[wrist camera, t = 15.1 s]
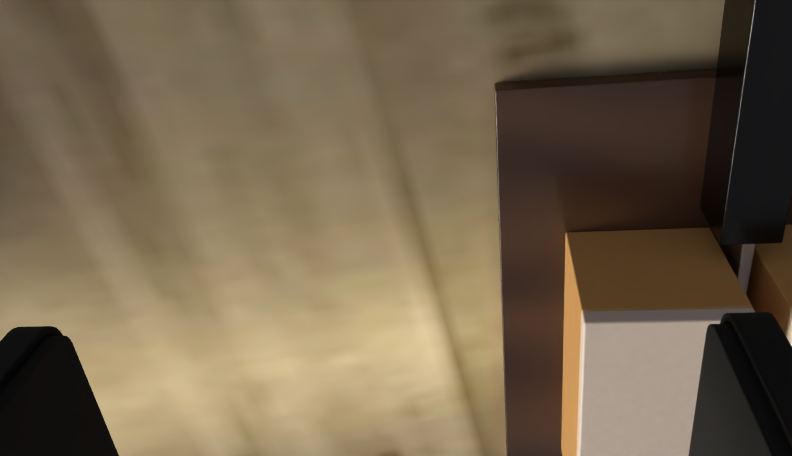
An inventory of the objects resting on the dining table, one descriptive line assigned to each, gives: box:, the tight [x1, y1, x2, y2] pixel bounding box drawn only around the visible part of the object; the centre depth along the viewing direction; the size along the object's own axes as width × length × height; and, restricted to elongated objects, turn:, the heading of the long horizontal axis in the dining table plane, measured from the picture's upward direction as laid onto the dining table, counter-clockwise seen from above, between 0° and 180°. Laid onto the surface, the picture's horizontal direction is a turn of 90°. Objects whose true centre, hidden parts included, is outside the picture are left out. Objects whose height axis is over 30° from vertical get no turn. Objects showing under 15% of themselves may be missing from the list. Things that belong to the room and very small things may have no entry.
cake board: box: [495, 69, 792, 456], centre depth 35 cm, size 22×20×1 cm
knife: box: [700, 0, 792, 296], centre depth 31 cm, size 24×2×3 cm, turn 6°
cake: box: [561, 225, 792, 456], centre depth 33 cm, size 14×14×7 cm
